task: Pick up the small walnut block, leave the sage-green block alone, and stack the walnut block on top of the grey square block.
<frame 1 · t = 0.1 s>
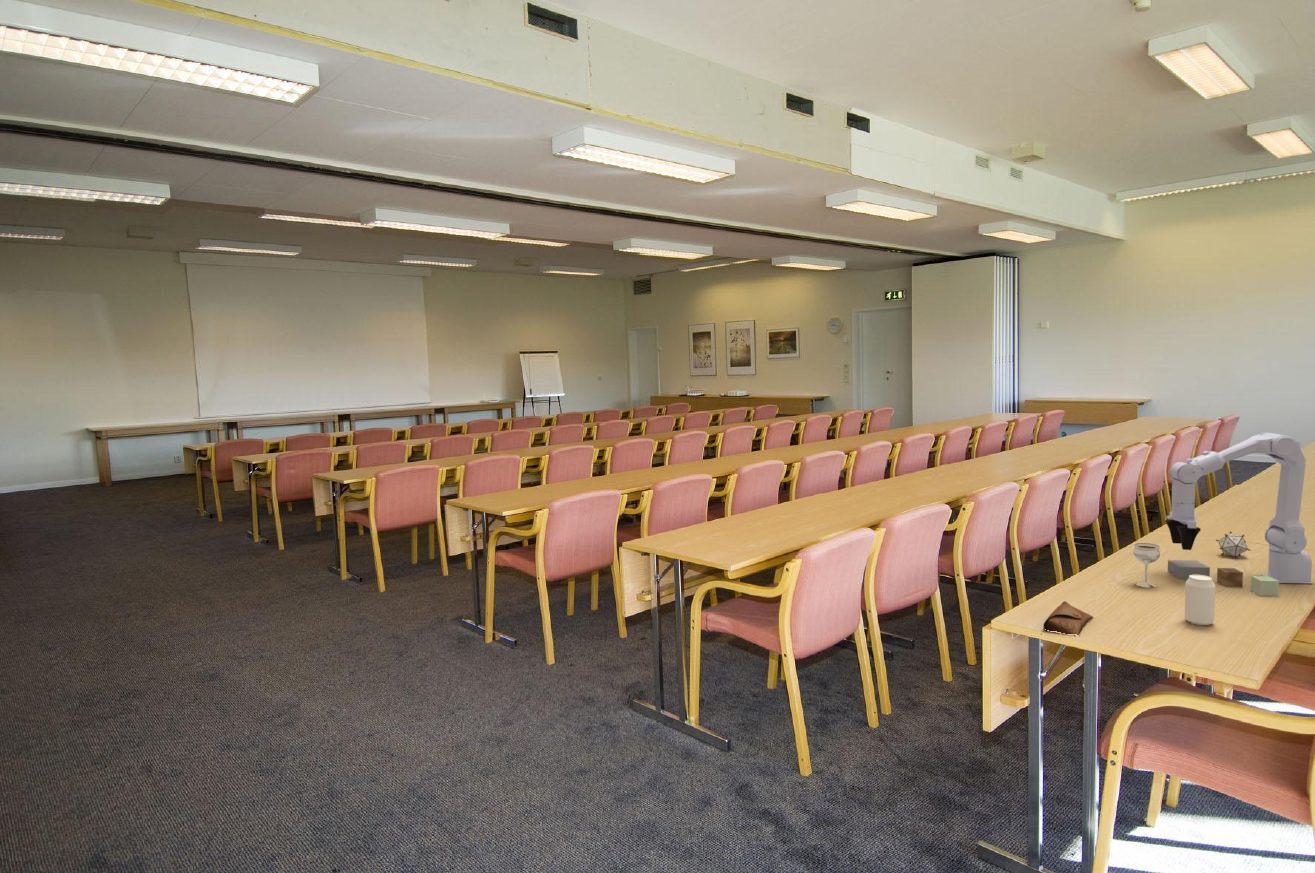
hand: (1181, 546, 230), 10 cm above the table, tool pointing down, fingers open, 7 cm apart
game die: (1232, 557, 251), on the table
wineglass: (1145, 585, 226), on the table
beverage can: (1198, 623, 195), on the table
walnut block: (1229, 585, 223), on the table
sunglasses case: (1069, 626, 198), on the table
sage-green block: (1264, 593, 214), on the table
grey square block: (1188, 576, 233), on the table
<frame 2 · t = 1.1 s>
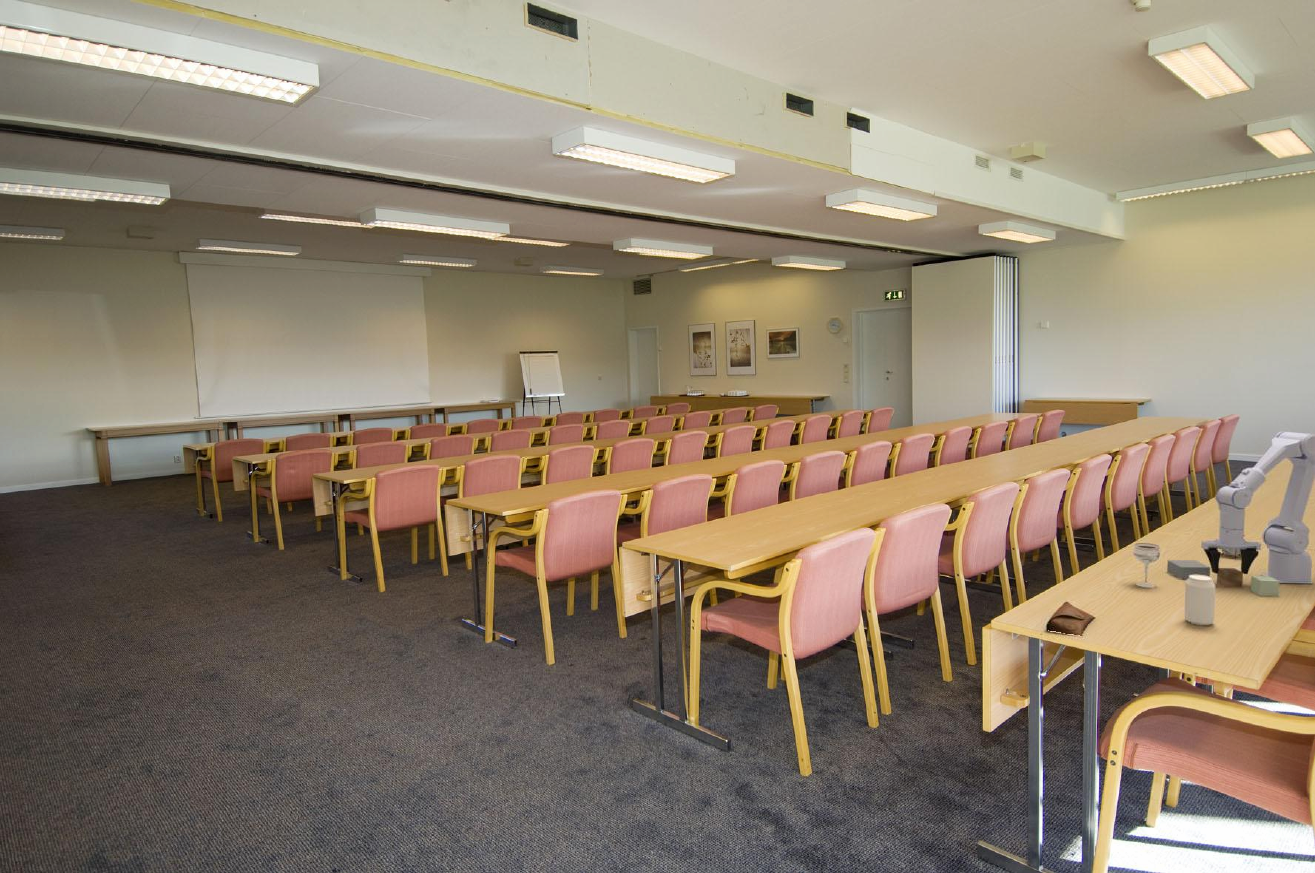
hand: (1229, 572, 223), 4 cm above the table, tool pointing down, fingers open, 7 cm apart
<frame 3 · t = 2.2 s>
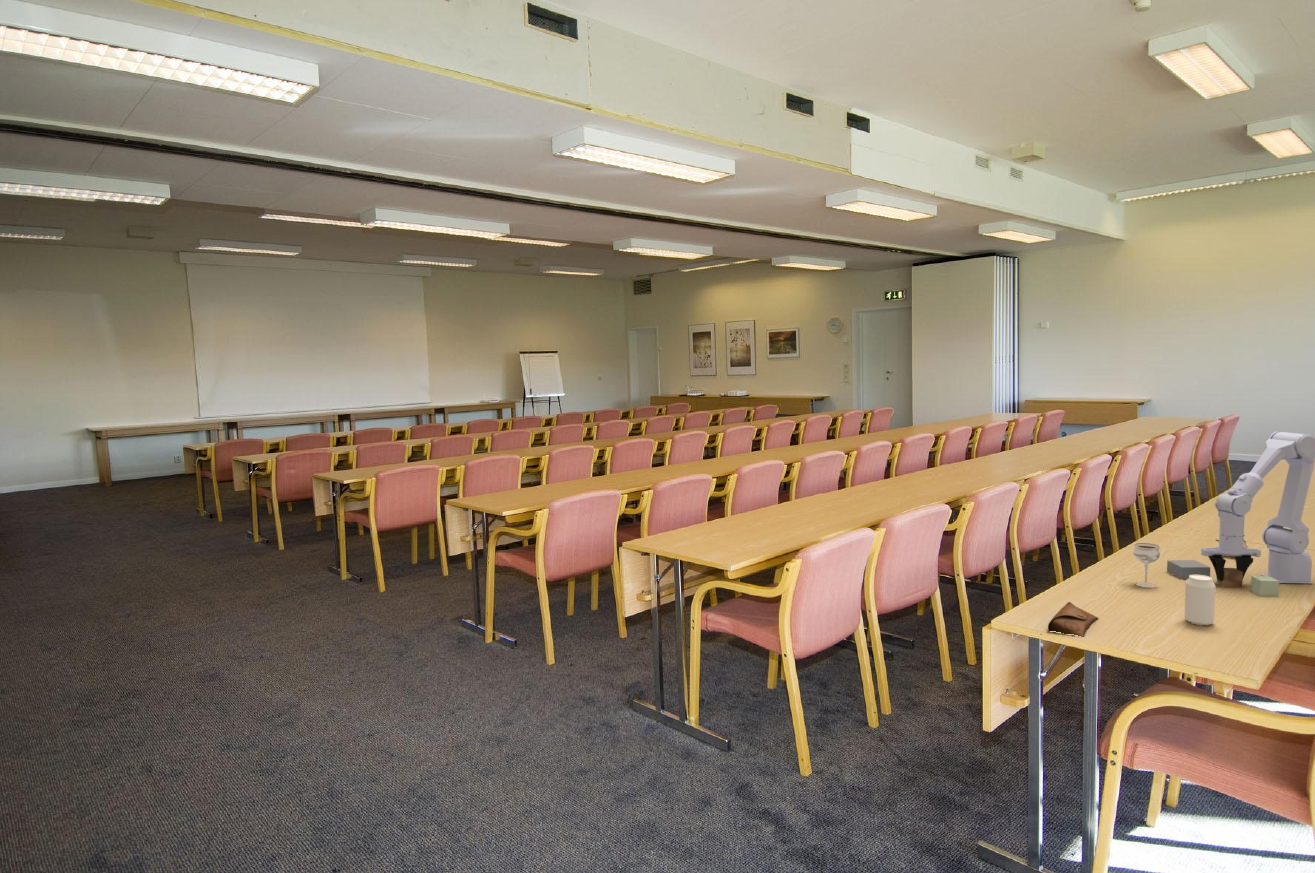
hand: (1229, 579, 223), 1 cm above the table, tool pointing down, fingers closed on walnut block, 4 cm apart
walnut block: (1229, 584, 223), on the table, touching gripper
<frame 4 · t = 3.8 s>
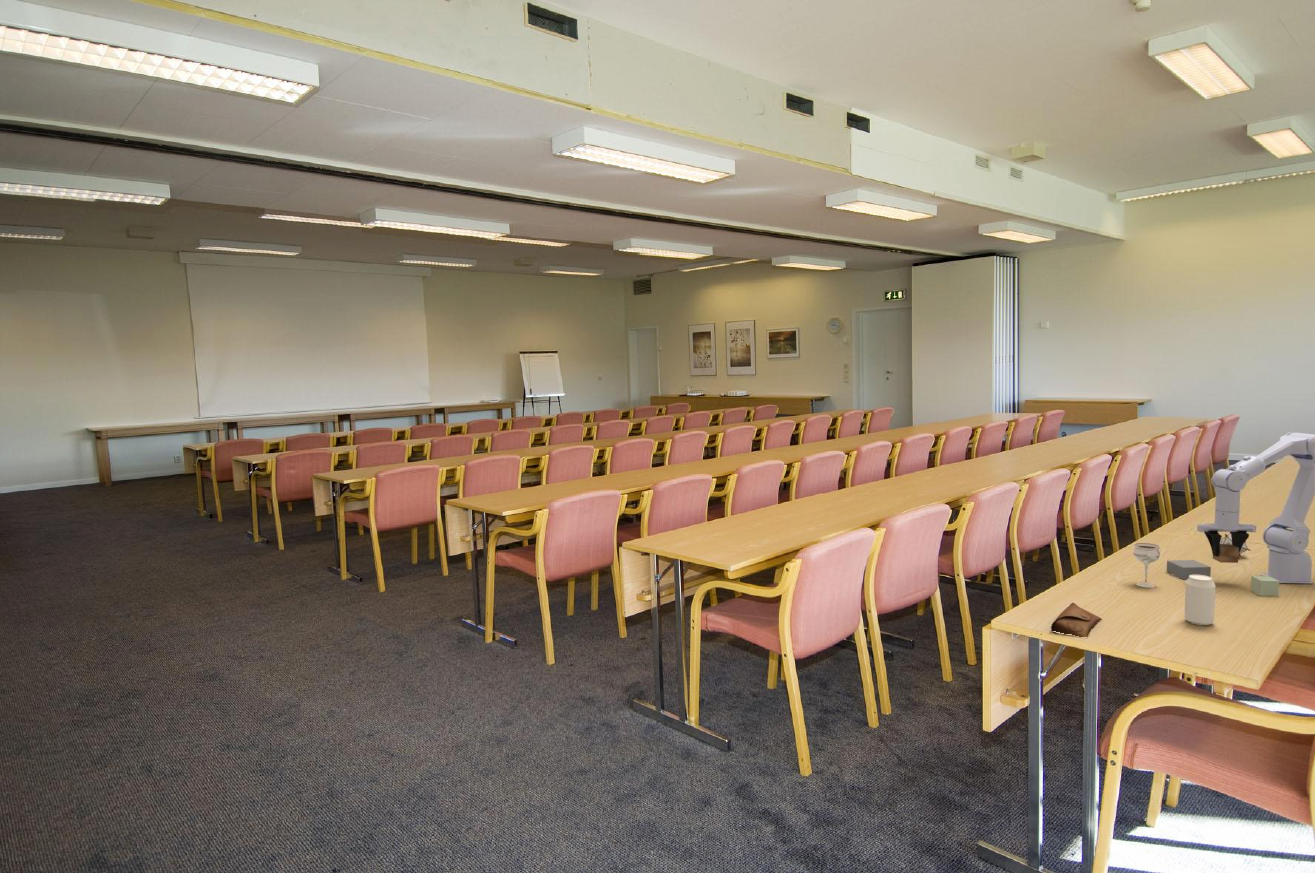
hand: (1225, 555, 223), 8 cm above the table, tool pointing down, fingers closed on walnut block, 4 cm apart
walnut block: (1225, 560, 223), point 7 cm above the table, touching gripper
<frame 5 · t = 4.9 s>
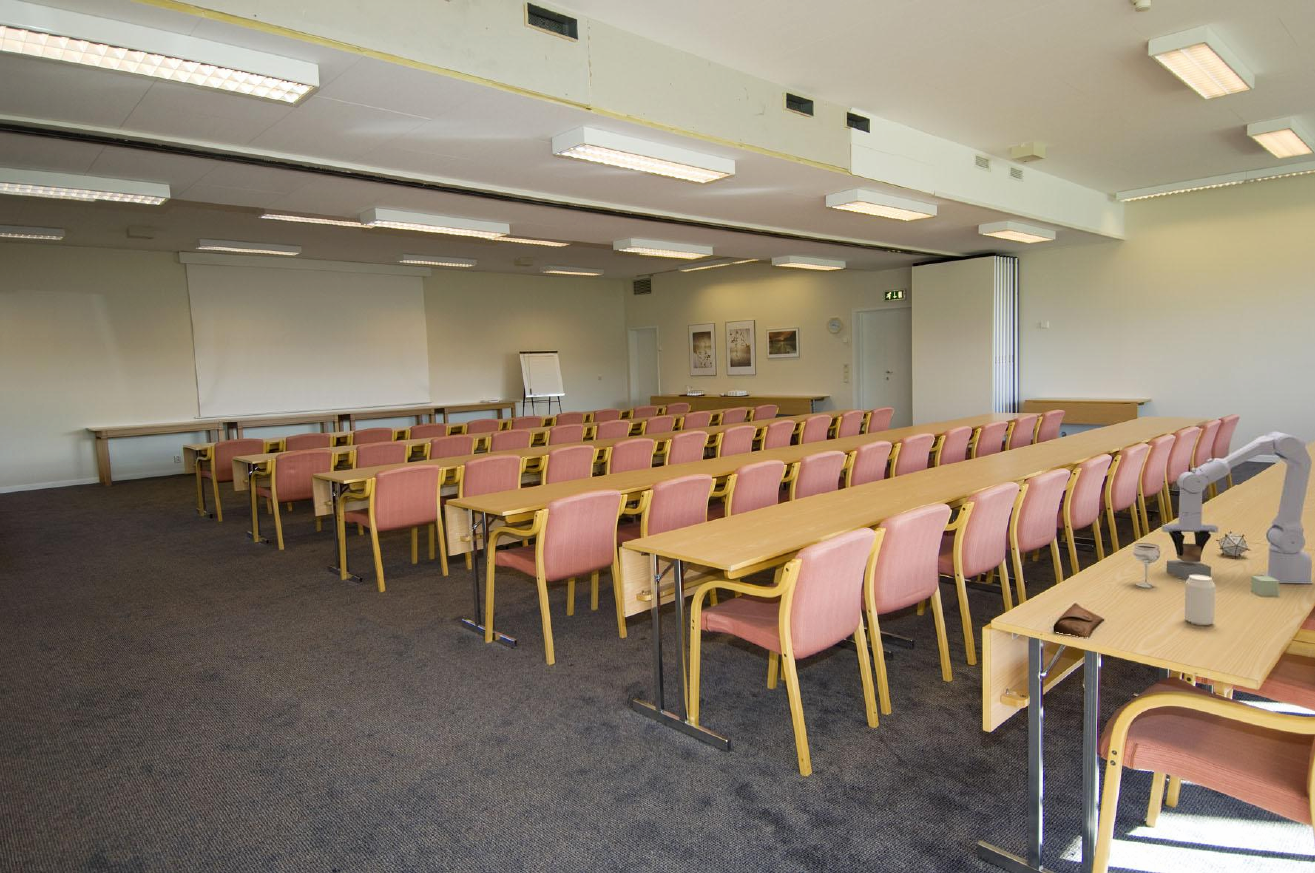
hand: (1188, 555, 232), 6 cm above the table, tool pointing down, fingers closed on walnut block, 4 cm apart
walnut block: (1188, 559, 233), point 5 cm above the table, touching gripper
when the fingers open (6 cm above the table, at t = 5.7 s): walnut block drops 1 cm, resting on grey square block.
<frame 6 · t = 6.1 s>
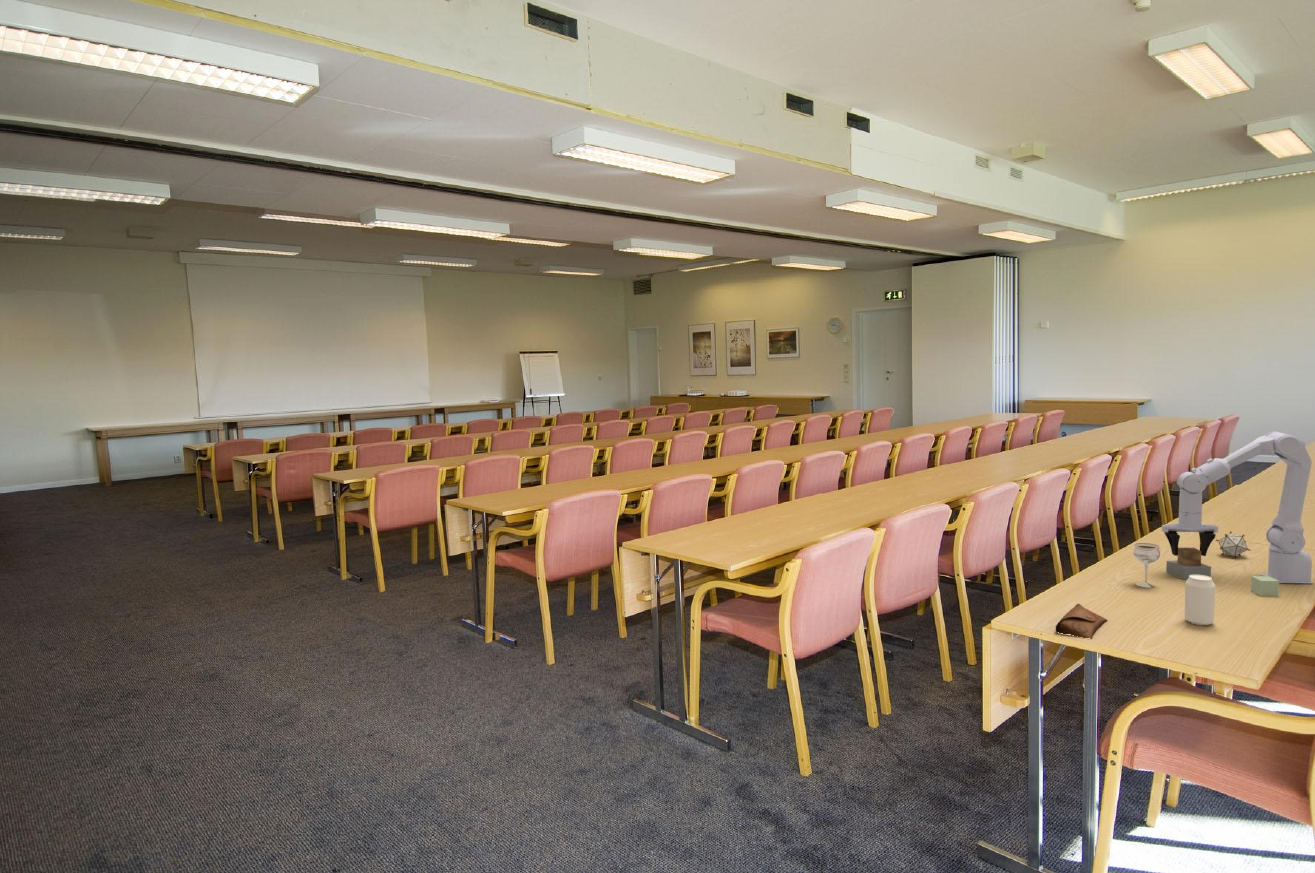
hand: (1188, 555, 232), 6 cm above the table, tool pointing down, fingers open, 7 cm apart
walnut block: (1189, 563, 233), point 4 cm above the table, touching grey square block
grey square block: (1188, 576, 233), on the table, touching walnut block
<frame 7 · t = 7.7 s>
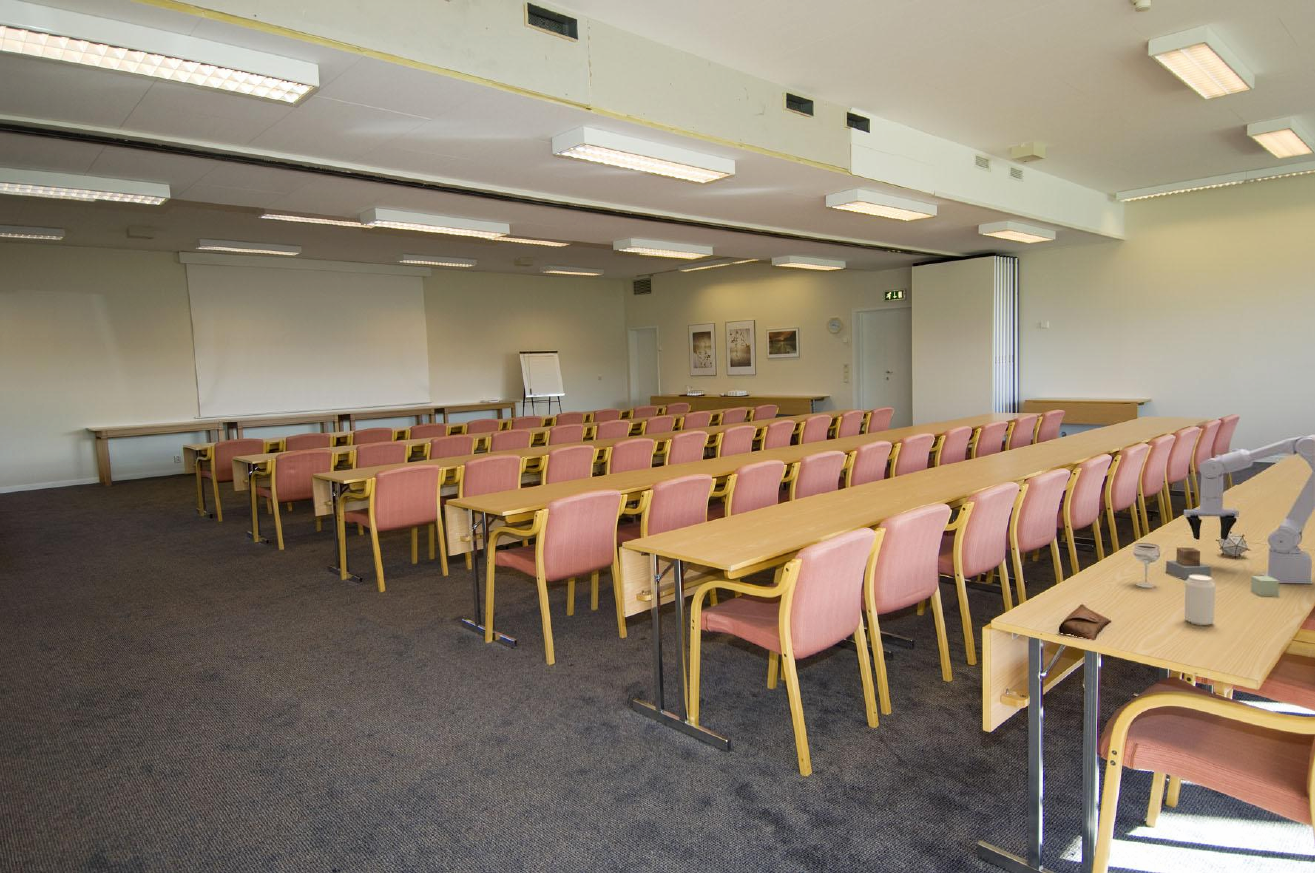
hand: (1210, 538, 239), 9 cm above the table, tool pointing down, fingers open, 7 cm apart
walnut block: (1187, 563, 233), point 4 cm above the table
grey square block: (1187, 576, 233), on the table
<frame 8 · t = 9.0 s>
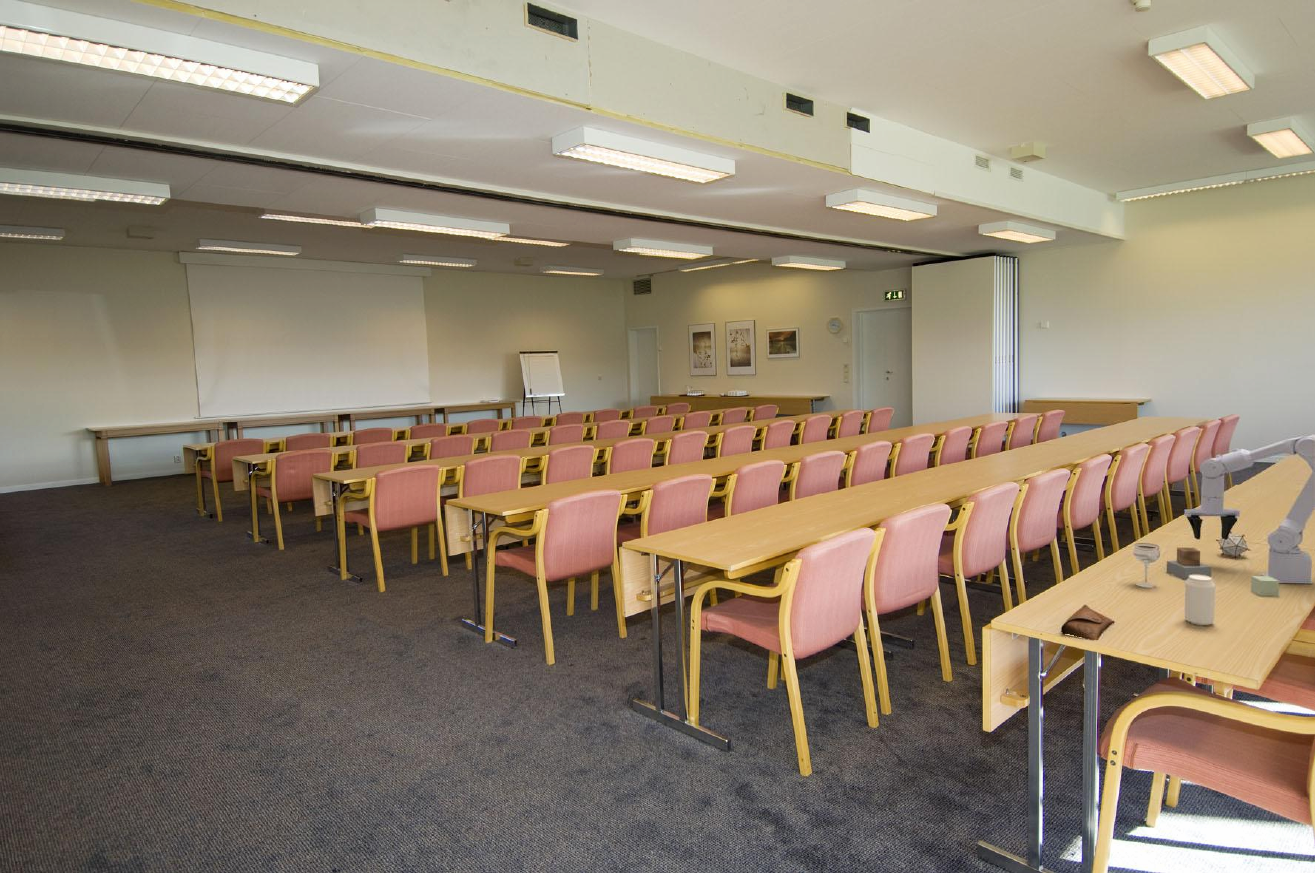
hand: (1210, 538, 239), 9 cm above the table, tool pointing down, fingers open, 7 cm apart
walnut block: (1188, 563, 233), point 4 cm above the table, touching grey square block
grey square block: (1188, 576, 233), on the table, touching walnut block
at the end: walnut block 0.1 cm off-centre on the grey square block, point 4.0 cm above the grey square block's base; walnut block touching grey square block; walnut block tilted 0° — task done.
